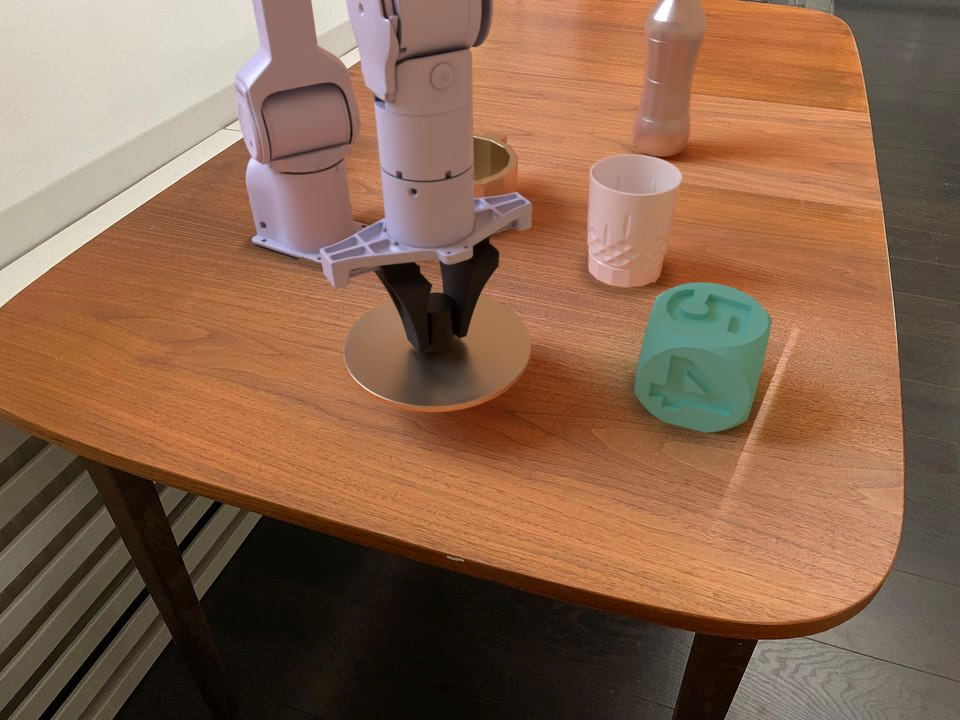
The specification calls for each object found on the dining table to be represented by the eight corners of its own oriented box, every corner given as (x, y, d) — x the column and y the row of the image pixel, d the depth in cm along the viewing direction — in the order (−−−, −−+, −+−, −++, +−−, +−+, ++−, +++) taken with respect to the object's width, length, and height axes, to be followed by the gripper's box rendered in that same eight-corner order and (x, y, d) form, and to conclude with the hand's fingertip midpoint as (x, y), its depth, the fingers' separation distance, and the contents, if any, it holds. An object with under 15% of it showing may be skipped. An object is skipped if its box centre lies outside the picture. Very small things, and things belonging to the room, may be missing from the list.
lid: (306, 378, 54) (295, 325, 51) (411, 284, 63) (407, 234, 60) (472, 445, 49) (471, 391, 46) (561, 332, 58) (565, 280, 55)
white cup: (622, 306, 67) (636, 204, 61) (563, 267, 72) (570, 169, 66) (683, 276, 71) (702, 177, 65) (623, 241, 76) (635, 146, 70)
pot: (358, 232, 78) (352, 179, 74) (450, 164, 90) (448, 116, 86) (465, 264, 73) (463, 209, 69) (546, 188, 85) (549, 137, 81)
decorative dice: (739, 446, 54) (765, 360, 49) (628, 418, 56) (642, 333, 51) (752, 377, 60) (776, 293, 55) (651, 355, 62) (665, 272, 57)
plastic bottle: (686, 165, 89) (719, -22, 76) (628, 160, 90) (650, -24, 77) (686, 142, 94) (716, -36, 81) (631, 138, 95) (652, -39, 82)
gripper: (341, 219, 41) (367, 405, 50) (562, 158, 46) (551, 334, 55) (295, 169, 46) (326, 347, 54) (501, 119, 51) (500, 287, 60)
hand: (436, 337), depth 55 cm, fingers closed on lid, 2 cm apart
